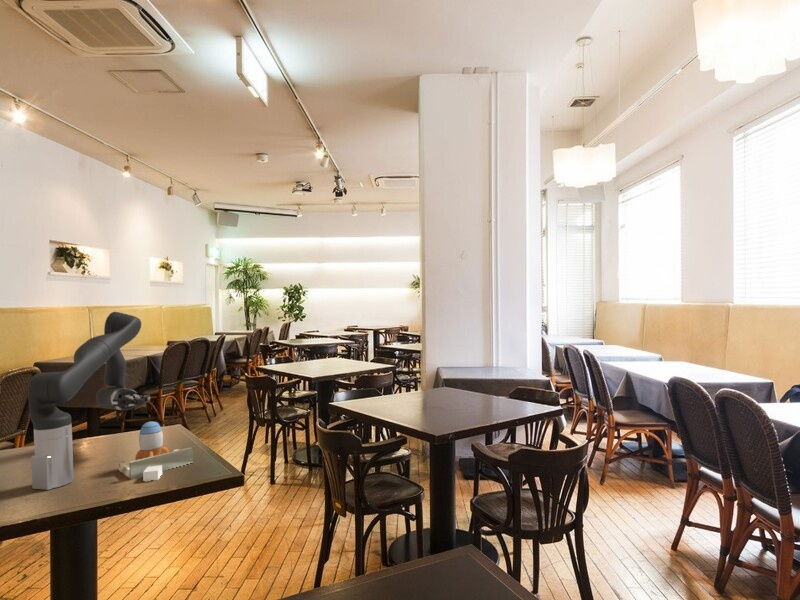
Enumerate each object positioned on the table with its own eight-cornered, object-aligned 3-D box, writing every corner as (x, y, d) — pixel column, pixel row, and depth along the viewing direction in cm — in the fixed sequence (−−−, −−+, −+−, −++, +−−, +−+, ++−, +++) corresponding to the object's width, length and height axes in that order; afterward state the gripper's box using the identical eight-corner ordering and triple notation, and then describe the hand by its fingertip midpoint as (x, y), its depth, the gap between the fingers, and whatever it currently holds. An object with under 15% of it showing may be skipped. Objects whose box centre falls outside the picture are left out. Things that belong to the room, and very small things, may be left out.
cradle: (118, 470, 154) (118, 454, 154) (177, 455, 167) (177, 441, 167) (131, 479, 145) (130, 462, 145) (192, 463, 158) (192, 448, 158)
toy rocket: (157, 473, 153) (142, 428, 152) (128, 477, 155) (114, 434, 154) (176, 457, 163) (163, 416, 162) (149, 462, 165) (136, 421, 164)
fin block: (158, 480, 144) (157, 470, 144) (143, 482, 143) (143, 472, 143) (162, 474, 149) (162, 465, 149) (148, 476, 148) (147, 466, 148)
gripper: (144, 405, 186) (160, 409, 174) (104, 411, 176) (119, 416, 164) (143, 386, 186) (159, 388, 174) (104, 391, 177) (118, 394, 164)
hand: (139, 402), depth 169 cm, fingers closed
